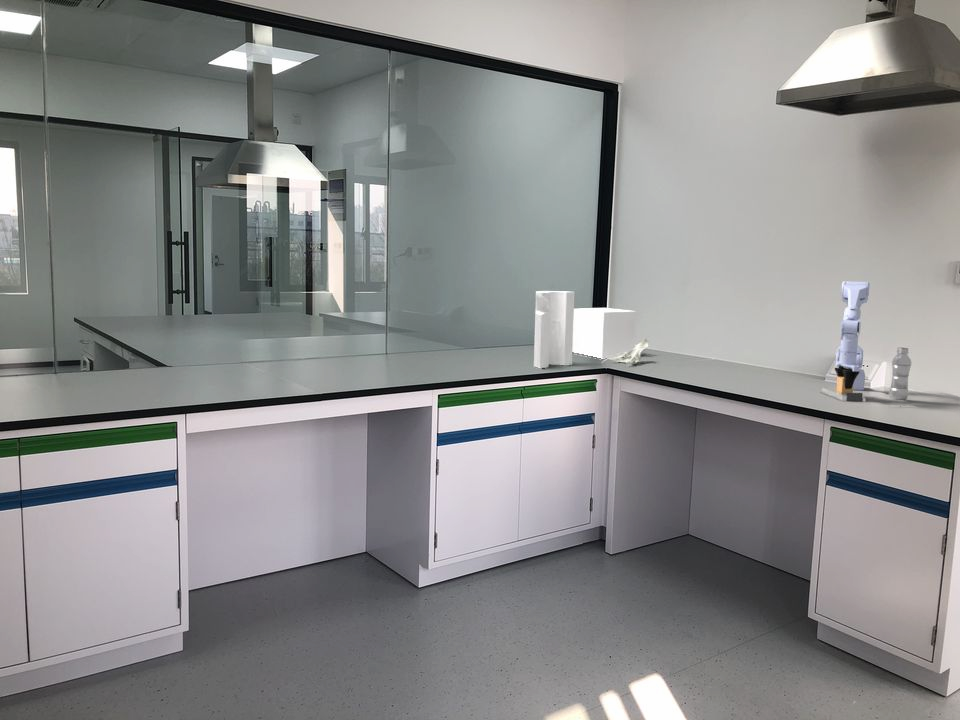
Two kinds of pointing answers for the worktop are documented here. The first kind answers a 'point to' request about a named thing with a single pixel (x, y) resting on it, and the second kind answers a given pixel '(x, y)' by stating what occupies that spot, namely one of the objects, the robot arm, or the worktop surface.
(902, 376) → the plastic bottle
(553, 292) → the white grooved block
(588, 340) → the cube
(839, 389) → the block
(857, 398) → the mounting plate
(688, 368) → the worktop surface
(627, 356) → the skeletal model
